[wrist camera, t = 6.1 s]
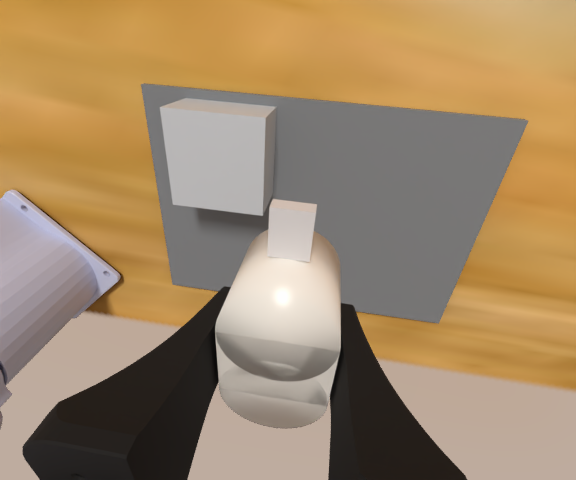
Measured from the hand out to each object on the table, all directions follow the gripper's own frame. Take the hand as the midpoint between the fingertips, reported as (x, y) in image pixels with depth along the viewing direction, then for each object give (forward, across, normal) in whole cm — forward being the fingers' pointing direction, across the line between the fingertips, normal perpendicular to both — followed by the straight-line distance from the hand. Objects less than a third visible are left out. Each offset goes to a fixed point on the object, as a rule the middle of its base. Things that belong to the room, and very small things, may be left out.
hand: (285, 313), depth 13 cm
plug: (+1, 0, 0) cm, 1 cm away
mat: (+9, 0, 0) cm, 9 cm away
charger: (+8, +5, -4) cm, 10 cm away
